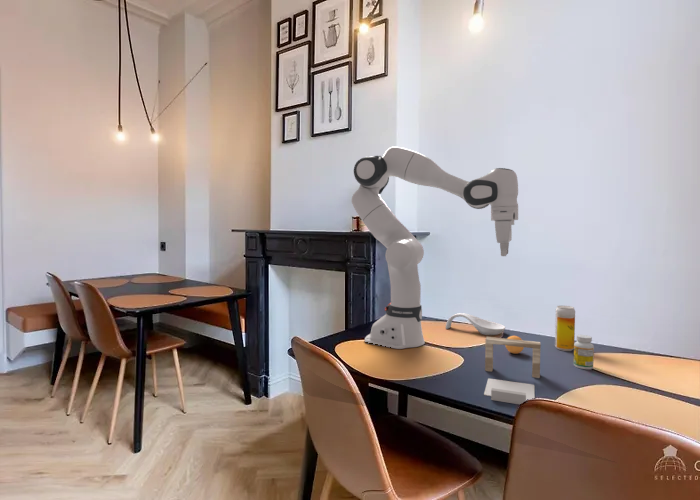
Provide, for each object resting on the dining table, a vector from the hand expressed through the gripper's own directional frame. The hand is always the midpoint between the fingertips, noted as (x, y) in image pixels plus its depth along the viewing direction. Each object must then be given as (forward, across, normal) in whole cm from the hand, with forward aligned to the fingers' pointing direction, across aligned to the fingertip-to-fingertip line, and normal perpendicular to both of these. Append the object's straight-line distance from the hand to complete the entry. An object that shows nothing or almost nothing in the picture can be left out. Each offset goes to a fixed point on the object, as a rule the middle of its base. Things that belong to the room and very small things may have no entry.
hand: (504, 255), depth 142 cm
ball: (+30, +3, +3) cm, 31 cm away
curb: (+34, +45, +3) cm, 56 cm away
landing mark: (+34, +37, +3) cm, 50 cm away
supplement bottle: (+34, +9, +23) cm, 42 cm away
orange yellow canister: (+34, -9, +19) cm, 40 cm away
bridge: (+34, +23, +3) cm, 41 cm away
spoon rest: (+34, -21, -13) cm, 42 cm away
